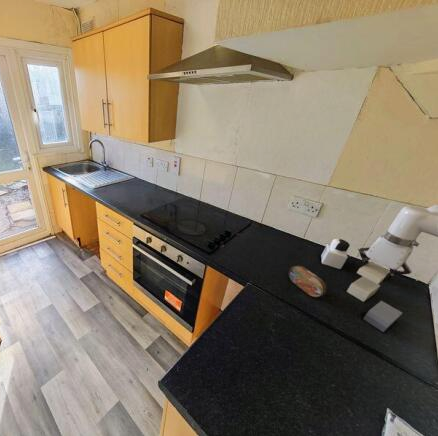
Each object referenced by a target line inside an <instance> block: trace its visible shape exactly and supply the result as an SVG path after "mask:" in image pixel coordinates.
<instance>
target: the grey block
mask: <svg viewBox="0 0 438 436" xmlns="http://www.w3.org/2000/svg"><path fill="white" fill-rule="evenodd" d="M402 314H403V312H402V311H401V310H399V309H397V308H395V307H393V306H391V305H390V304H389V303H386V302H384V301H383V300H380V301H379V302H378V303H377V304H375V305H374V306H373V307H371V308H370V309H369V310H368V311H367V313H365V315H364V316H363V317H362V319H363V320H364V321H366V322H367V323H368V324H369V325H372V326H373V327H374V328H376V329H378V330H379V331H381V332H382V333H385V332H386V331H387V330H388V328H390V327H391V326H392V325H393V324H394V323H395V322H396V321H397V320H398V319H399V318H400V317H401V316H402Z"/></svg>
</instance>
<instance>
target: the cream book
mask: <svg viewBox="0 0 438 436" xmlns="http://www.w3.org/2000/svg"><path fill="white" fill-rule="evenodd" d="M359 268H360V267H359ZM359 268H358V270H357V271H356V274H358V275H359V276H361V277H365V278H367V279H369V280H371V281H373V282H374V283H376V284H379V285H380V284H381V283H382V282H383V279H384V278H385V276H386V275H387V274H388V273H390V269H389V268H385V267H384V266H382V265H379V264H378V263H375V262H373V261H369V262H368V264H366V265H365V266H363V267H361V268H360V269H359Z"/></svg>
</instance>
